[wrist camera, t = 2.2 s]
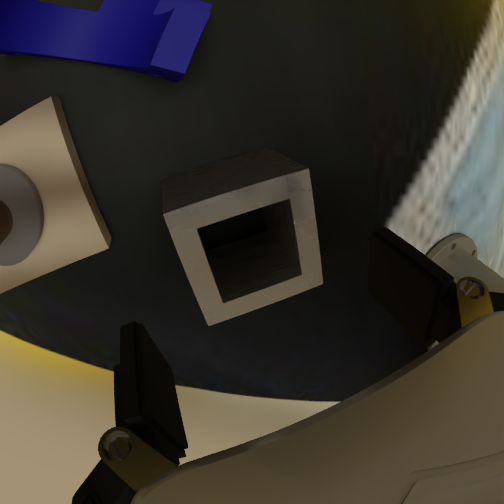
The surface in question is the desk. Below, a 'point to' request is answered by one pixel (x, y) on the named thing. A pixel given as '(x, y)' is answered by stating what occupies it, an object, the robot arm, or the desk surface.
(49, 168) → the post board
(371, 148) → the desk surface
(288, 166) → the sleeve
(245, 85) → the desk surface
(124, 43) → the cable clip
